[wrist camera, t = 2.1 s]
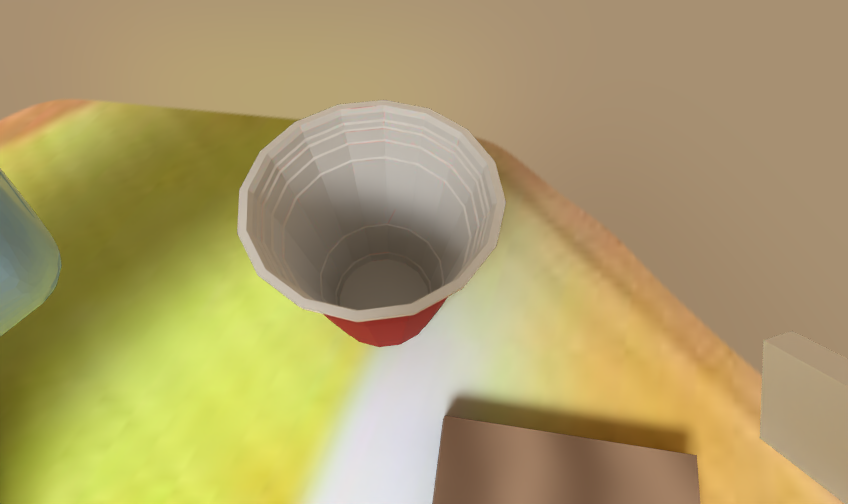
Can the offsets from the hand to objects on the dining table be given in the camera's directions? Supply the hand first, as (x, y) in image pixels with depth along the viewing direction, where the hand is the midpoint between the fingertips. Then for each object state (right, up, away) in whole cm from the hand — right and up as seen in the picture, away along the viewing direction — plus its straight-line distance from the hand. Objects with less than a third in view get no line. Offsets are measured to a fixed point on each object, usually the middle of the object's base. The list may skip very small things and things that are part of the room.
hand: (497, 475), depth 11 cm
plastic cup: (-4, +2, +21) cm, 21 cm away
